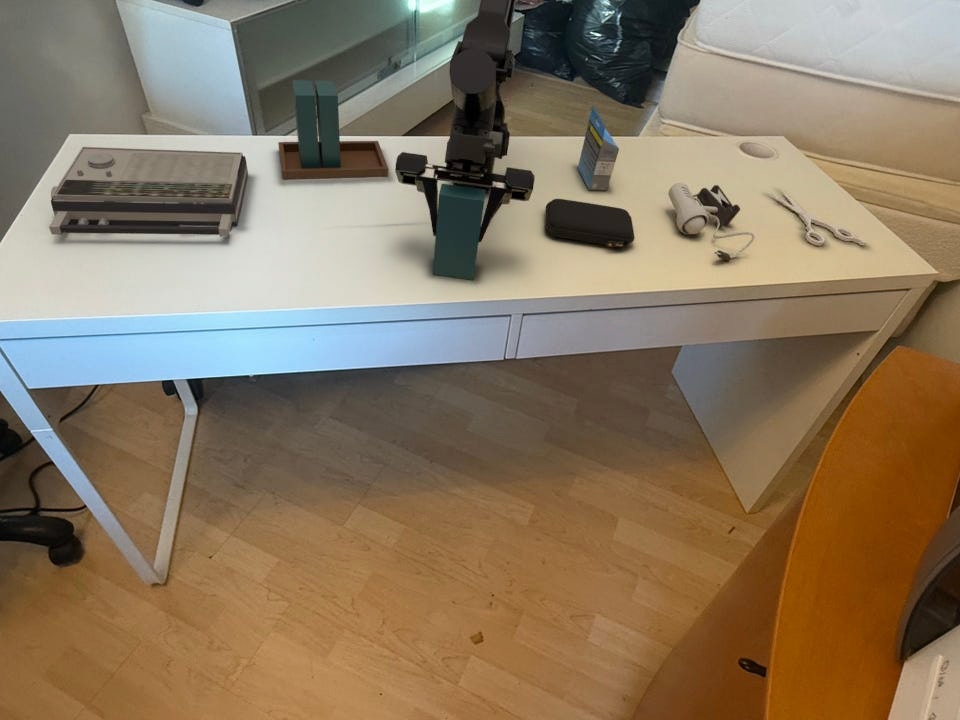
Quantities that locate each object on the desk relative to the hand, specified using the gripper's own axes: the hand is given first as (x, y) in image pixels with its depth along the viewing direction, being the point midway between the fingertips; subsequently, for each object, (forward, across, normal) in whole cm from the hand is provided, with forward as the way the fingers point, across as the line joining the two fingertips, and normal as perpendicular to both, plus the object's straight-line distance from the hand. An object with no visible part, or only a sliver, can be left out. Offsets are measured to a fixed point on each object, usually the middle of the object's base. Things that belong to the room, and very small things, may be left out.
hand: (457, 238), depth 85 cm
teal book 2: (-15, -24, +24) cm, 37 cm away
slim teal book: (+4, 0, +6) cm, 7 cm away
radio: (0, -46, +10) cm, 47 cm away
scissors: (-19, +63, +28) cm, 72 cm away
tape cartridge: (-21, +23, +31) cm, 44 cm away
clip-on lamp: (-11, +42, +21) cm, 48 cm away
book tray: (-15, -24, +24) cm, 37 cm away
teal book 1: (-14, -28, +23) cm, 39 cm away
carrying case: (-8, +21, +17) cm, 28 cm away
